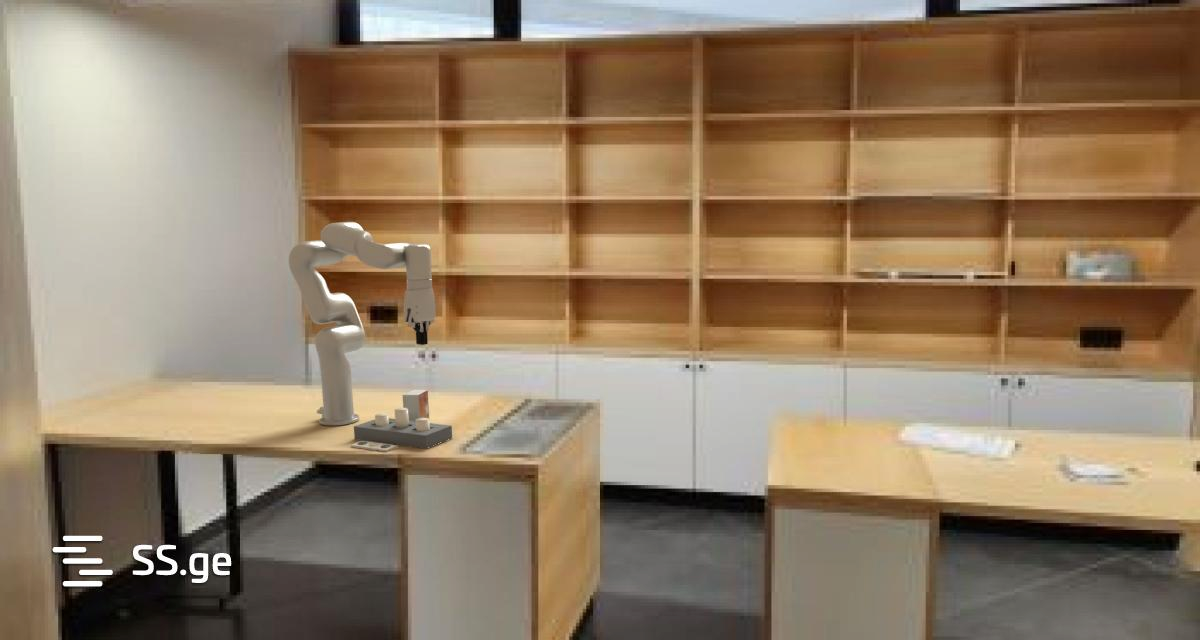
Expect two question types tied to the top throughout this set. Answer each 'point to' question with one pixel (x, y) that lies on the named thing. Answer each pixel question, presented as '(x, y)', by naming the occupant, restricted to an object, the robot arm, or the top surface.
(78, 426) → the top surface
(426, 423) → the button
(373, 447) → the pattern card
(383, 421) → the button
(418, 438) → the grey slotted rack
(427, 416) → the small box
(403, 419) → the button
